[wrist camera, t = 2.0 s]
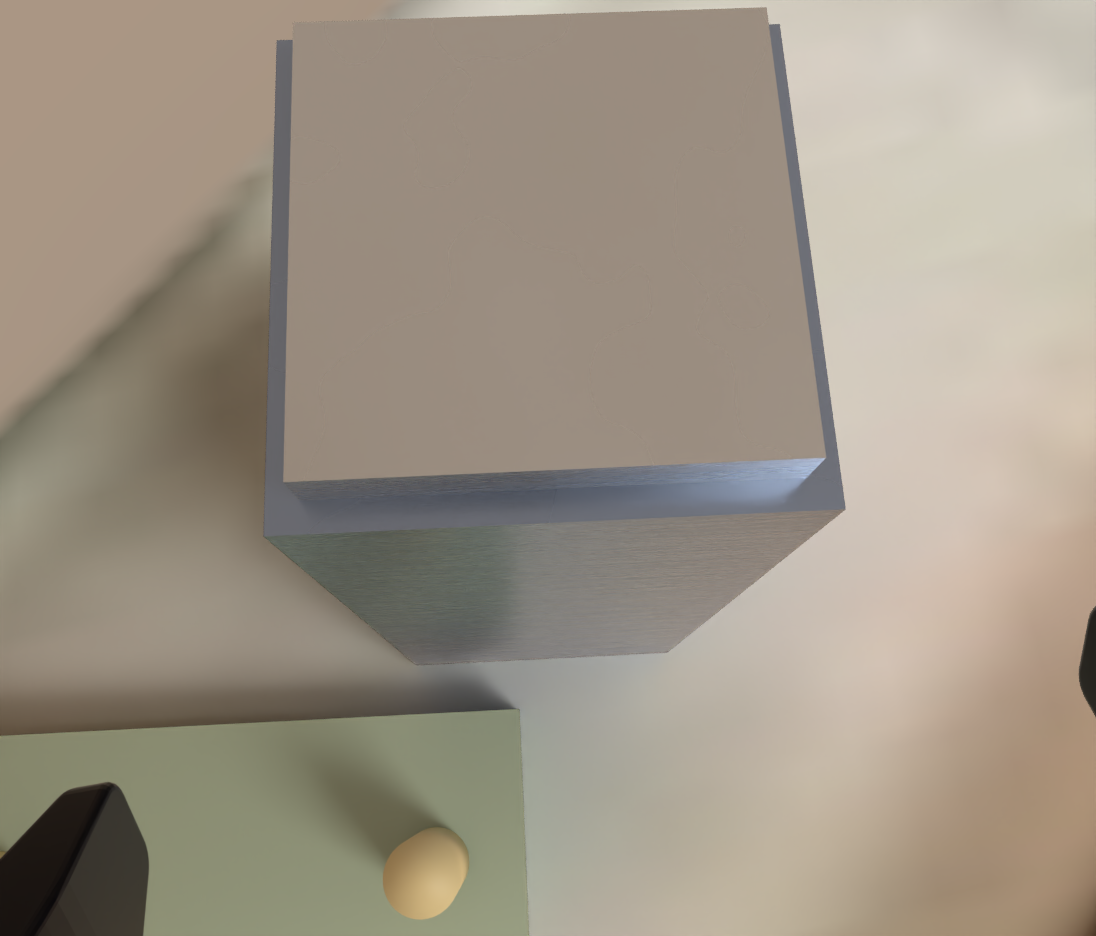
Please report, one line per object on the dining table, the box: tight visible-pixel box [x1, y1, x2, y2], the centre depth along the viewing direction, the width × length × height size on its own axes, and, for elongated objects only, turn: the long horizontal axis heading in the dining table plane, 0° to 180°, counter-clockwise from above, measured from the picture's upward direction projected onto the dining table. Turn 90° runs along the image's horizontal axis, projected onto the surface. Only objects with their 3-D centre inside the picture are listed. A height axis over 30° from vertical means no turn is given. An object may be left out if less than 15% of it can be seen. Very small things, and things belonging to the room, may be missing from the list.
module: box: [264, 8, 845, 665], centre depth 15 cm, size 5×5×13 cm
